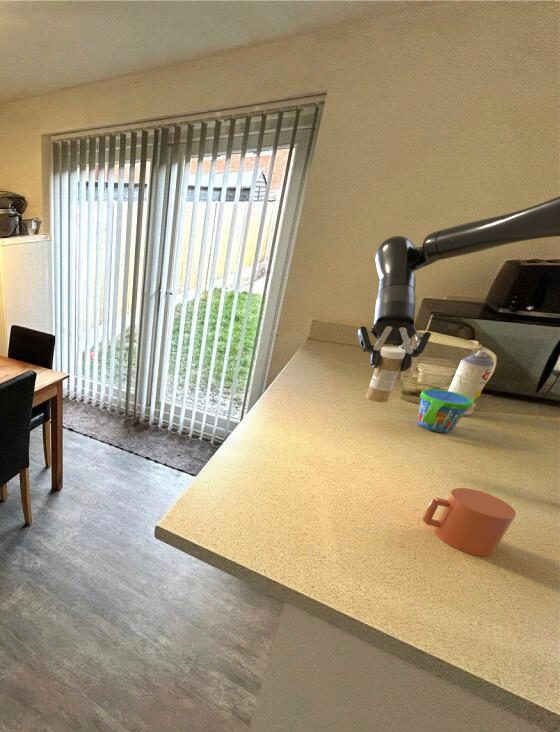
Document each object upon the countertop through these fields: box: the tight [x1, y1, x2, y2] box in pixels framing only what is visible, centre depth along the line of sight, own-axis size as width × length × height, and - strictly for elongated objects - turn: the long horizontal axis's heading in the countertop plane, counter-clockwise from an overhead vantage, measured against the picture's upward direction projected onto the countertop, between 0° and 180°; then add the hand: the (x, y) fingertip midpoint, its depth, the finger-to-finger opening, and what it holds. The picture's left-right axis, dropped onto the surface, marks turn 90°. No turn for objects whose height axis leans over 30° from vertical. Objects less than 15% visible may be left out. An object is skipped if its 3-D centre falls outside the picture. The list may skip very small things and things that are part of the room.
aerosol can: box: [447, 349, 495, 417], centre depth 119 cm, size 7×7×20 cm
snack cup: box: [417, 388, 473, 434], centre depth 113 cm, size 16×10×10 cm
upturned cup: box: [422, 487, 517, 557], centre depth 75 cm, size 11×8×9 cm
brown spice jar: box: [365, 345, 406, 404], centre depth 95 cm, size 5×5×14 cm
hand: (389, 368), depth 93 cm, fingers closed on brown spice jar, 4 cm apart
